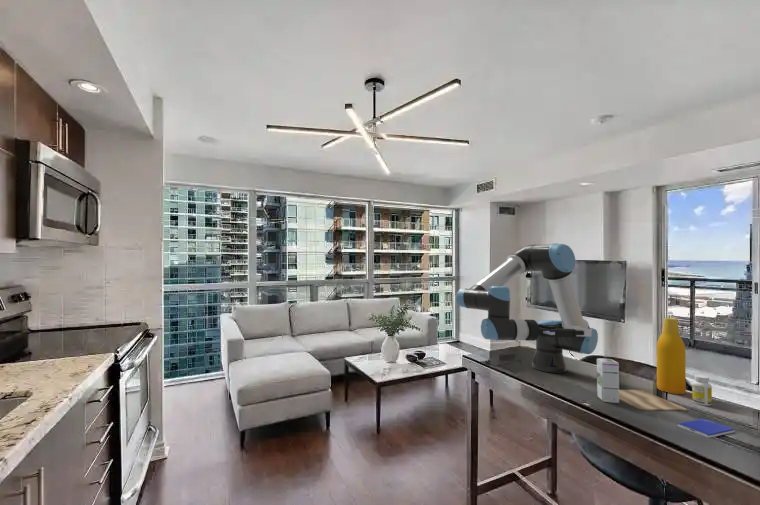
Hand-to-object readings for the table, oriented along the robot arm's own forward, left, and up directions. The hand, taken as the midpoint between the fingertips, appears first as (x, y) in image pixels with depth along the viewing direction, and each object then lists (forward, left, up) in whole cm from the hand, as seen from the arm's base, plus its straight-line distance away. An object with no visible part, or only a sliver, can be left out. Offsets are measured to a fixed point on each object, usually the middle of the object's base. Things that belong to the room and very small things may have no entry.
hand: (585, 331), depth 136 cm
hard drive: (-4, +33, -26) cm, 42 cm away
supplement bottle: (-33, +27, -25) cm, 50 cm away
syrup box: (-7, +5, -25) cm, 27 cm away
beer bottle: (-41, +16, -25) cm, 51 cm away
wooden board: (-18, +13, -25) cm, 33 cm away
